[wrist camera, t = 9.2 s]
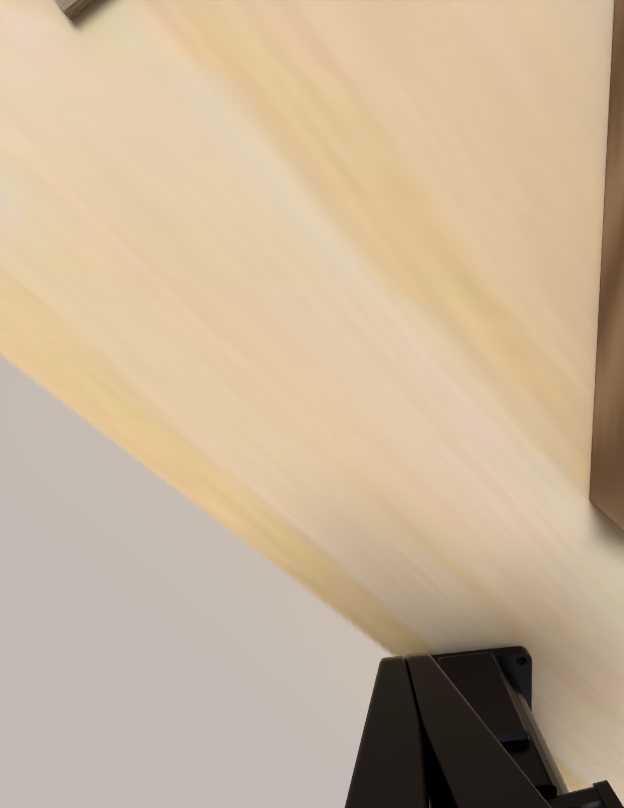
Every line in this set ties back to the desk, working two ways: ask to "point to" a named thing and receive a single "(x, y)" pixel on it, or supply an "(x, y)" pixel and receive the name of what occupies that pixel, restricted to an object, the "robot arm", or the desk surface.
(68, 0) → the thin grey panel
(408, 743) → the robot arm
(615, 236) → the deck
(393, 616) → the desk surface
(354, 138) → the desk surface
